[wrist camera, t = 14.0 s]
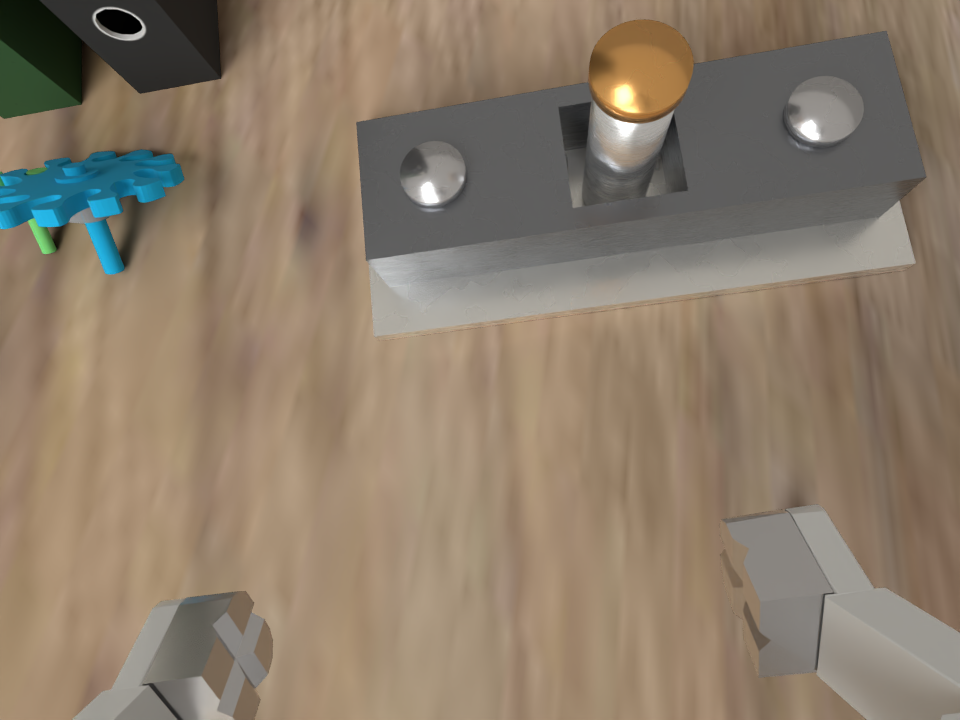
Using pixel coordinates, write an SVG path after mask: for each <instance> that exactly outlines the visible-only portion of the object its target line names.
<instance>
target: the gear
mask: <svg viewBox="0 0 960 720" xmlns="http://www.w3.org/2000/svg"><path fill="white" fill-rule="evenodd" d="M44 164H45V167H46V168H36V169H32V170H29V171H28V170H27V169H19V170H14V171H10V172H7V173H4V174H3V173H2V172H0V229H9V228H12V227H15V226H18V225H20V224H22V223H24V222H26V221H28V222H29V225H30V227H31V229H32V231H33V233H34V235H35V238H36V240H37V242H38V244H39V246H40V248H41V251H42V253H43V254H49V253H53V252H55V251H56V250H57V249H56V246H55V244H54V242H53V240H52V237H51V235H50V233H49V231H48V228H47V227H57V226H62V225H65V224H67V223H68V222H72V223H83V224H85V225H86V227H87V230H88V232H89V235H90V237H91V239H92V242H93V244H94V247H95V249H96V252H97V254H98V257H99V259H100V261H101V264H102V266H103V269H104V271H105V273H106V274H116V273H119V272H121V271H123V270H124V269H125V268H124V265H123V262H122V260H121V257H120V255H119V252H118V250H117V247H116V244H115V242H114V239H113V237H112V234H111V232H110V229H109V226H108V224H107V221H106V218H108V217H109V216H111V215H116V214H120V213H122V212H123V208H122V205H121V203H120V200H119V199H120V198H122V197H125V196H129V195H136V196H137V199H138V201H139V202H143V203H146V202H150V201H154V200H157V199H159V198H162V197H164V196H166V195H165V192H164V189H163V187H173V186H176V185H178V184H180V183H181V182H182V181H183V180H185V179H184V176H183V173H182V170H181V166H180V164H176V162H175V159H174V156H173V154H164V155H159V156H156V157H153V153H152V152H151V151H149V150H136V151H133V152H130V153H129V154H126V155H124V156H121V157H117V156H116V154H115V152H113V151H105V152H96V153H93V154H91V155H90V157H89V158H87V159H86V160H84V161H82V162H77V163H72V162H71V160H70V158H60V159H54V160H48V161H45V162H44Z"/></svg>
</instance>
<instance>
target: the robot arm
mask: <svg viewBox="0 0 960 720" xmlns="http://www.w3.org/2000/svg"><path fill="white" fill-rule="evenodd" d="M719 528H720V538H721V540H722V543H723V545H724V548H725V549H724V551H723V552H722V553H721V554H720V560H721V571H722V577H723V582H724V587H725V590H726V593H727V596H728V599H729V602H730V605H731V608H732V610H733V613H734V614H736V615H737V616H738V617H740V618H741V619H742V620H743V639H744V641H745V644H746V646H747V649H748V652H749V654H750V657H751V659H752V662H753V664H754V667H755V669H756V672H757V674H758V677H770V676H781V675H792V674H803V673H813V672H817V676H818V677H819V678H821V679H822V680H823V681H824V682H825V683H826V684H827V685H828V686H830V687H831V688H832V689H833V690H834V691H835V692H836V693H837V694H838V695H840V696H841V697H842V698H843V699H844V700H845V701H846V702H847V703H849V704H850V705H851V706H852V707H853V708H854V709H855V710H856V711H858V712H859V713H860V714H861V715H862V716H863V717H864V718H865V719H867V720H960V632H958V631H956V630H955V629H953V628H951V627H950V626H948V625H946V624H945V623H943V622H941V621H940V620H938V619H936V618H935V617H933V616H932V615H930V614H928V613H927V612H925V611H923V610H922V609H920V608H918V607H917V606H915V605H913V604H912V603H910V602H908V601H907V600H905V599H903V598H902V597H900V596H898V595H897V594H895V593H894V592H892V591H890V590H889V589H887V588H874V587H873V585H872V584H871V582H870V580H869V579H868V577H867V576H866V574H865V572H864V571H863V569H862V568H861V566H860V565H859V563H858V561H857V560H856V558H855V557H854V555H853V553H852V552H851V550H850V549H849V547H848V546H847V544H846V542H845V541H844V539H843V538H842V536H841V535H840V533H839V531H838V530H837V528H836V527H835V525H834V523H833V522H832V520H831V519H830V517H829V516H828V514H827V512H826V511H825V509H824V508H823V507H821V506H820V505H818V504H816V505H810V506H803V507H796V508H790V509H785V510H783V509H781V510H774V511H768V512H762V513H756V514H749V515H743V516H737V517H731V518H724V519H721V521H720V524H719ZM253 606H254V602H253V600H252V599H251V598H250V596H249V595H248V593H247V592H246V591H237V592H229V593H221V594H212V595H204V596H196V597H187V598H182V599H174V600H166V601H161V602H159V603H158V604H157V605H156V606H155V607H154V608H153V609H152V610H151V612H150V614H149V616H148V618H147V620H146V622H145V624H144V626H143V628H142V630H141V632H140V634H139V636H138V638H137V640H136V642H135V644H134V646H133V648H132V650H131V652H130V654H129V656H128V658H127V659H126V661H125V663H124V665H123V667H122V669H121V671H120V673H119V675H118V677H117V679H116V681H115V683H114V685H113V687H112V689H111V690H107V691H102V692H101V693H100V694H99V695H98V696H97V697H96V698H95V699H94V700H93V701H92V702H90V703H89V704H88V705H87V706H86V707H85V708H84V709H83V710H82V711H81V712H80V713H79V714H77V715H76V716H75V717H74V718H73V719H72V720H255V716H256V713H257V710H258V706H259V703H260V697H259V695H258V692H257V690H256V687H257V686H258V685H259V684H260V683H261V682H262V680H263V679H264V678H265V677H266V676H267V675H268V673H269V669H270V665H271V662H272V657H273V639H272V635H271V631H270V628H269V626H268V625H267V623H266V621H265V619H263V618H261V617H259V616H257V615H255V614H254V613H252V609H253Z"/></svg>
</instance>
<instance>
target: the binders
mask: <svg viewBox="0 0 960 720" xmlns="http://www.w3.org/2000/svg"><path fill="white" fill-rule="evenodd" d="M82 40H83V41H84V42H85V43H86V44H87V45H88V46H89V47H90V48H91V49H92V50H94V51H95V52H96V53H97V54H98V55H99V56H100V57H101V58H102V59H103V60H104V61H105V62H106V63H108V64H109V65H110V66H111V67H112V68H113V69H114V70H115V71H116V72H117V73H118V74H119V75H120V76H121V77H123V78H124V79H125V80H126V81H127V82H128V83H129V84H130V85H131V86H132V87H133V88H134V89H135V90H137V91H138V92H139V93H140V94H141V93H146V92H152V91H157V90H162V89H168V88H173V87H179V86H184V85H190V84H195V83H200V82H206V81H211V80H217V79H221V69H220V50H219V31H218V12H217V0H0V116H1V117H3V118H4V119H5V118H11V117H16V116H22V115H27V114H32V113H38V112H43V111H49V110H54V109H59V108H65V107H70V106H76V105H81V104H82Z"/></svg>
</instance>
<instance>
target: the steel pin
mask: <svg viewBox="0 0 960 720" xmlns="http://www.w3.org/2000/svg"><path fill="white" fill-rule="evenodd" d="M693 67H694V65H693V55H692V52H691V49H690V47H689V44H688V43H687V41H686V40H685V38H684V37H683V36H682V35H681V34H680V33H679V32H678V31H676V30H675V29H674V28H672V27H670V26H668V25H666V24H664V23H661V22H658V21H653V20H633V21H628V22H625V23H622V24H620V25H618V26H616V27H614V28H612V29H611V30H609V31H608V32H607V33H606V34H604V35H603V36H602V37H601V39H600V40H599V41H598V42H597V44H596V45H595V47H594V49H593V52H592V55H591V59H590V66H589V77H588V84H589V90H590V93H591V96H592V100H591V109H590V119H589V128H588V138H587V147H586V156H585V166H584V175H583V185H582V195H583V199H584V201H585V203H586V205H587V206H590V205H596V204H603V203H610V202H616V201H623V200H629V199H636V198H642V197H646V194H647V191H648V188H649V185H650V182H651V179H652V176H653V173H654V170H655V167H656V164H657V161H658V158H659V155H660V152H661V149H662V146H663V143H664V140H665V137H666V134H667V131H668V128H669V125H670V122H671V119H672V116H673V113H674V110H675V108H676V107H677V106H678V105H679V104H680V103H681V101H682V100H683V98H684V96H685V94H686V91H687V89H688V86H689V83H690V80H691V77H692V73H693Z"/></svg>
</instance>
